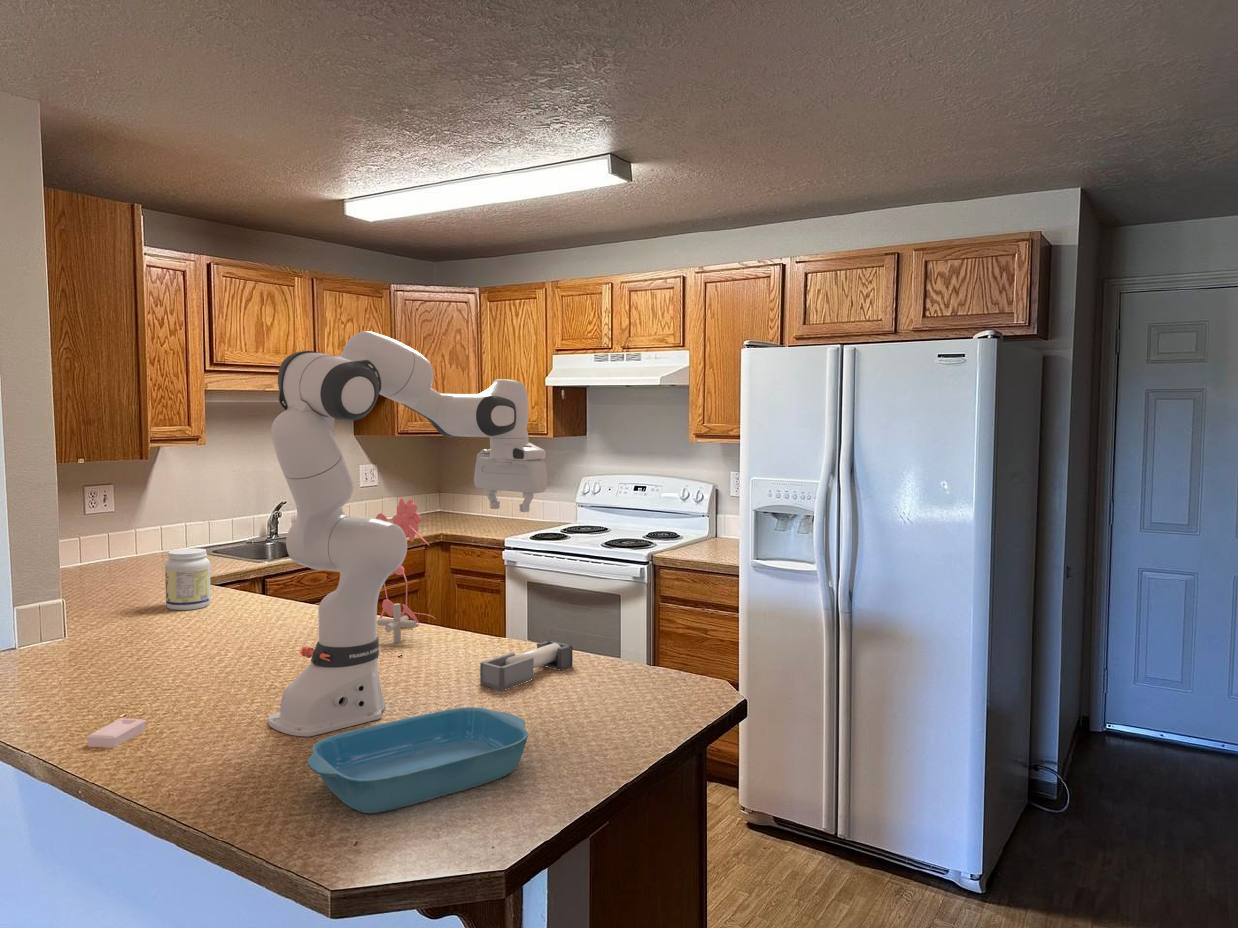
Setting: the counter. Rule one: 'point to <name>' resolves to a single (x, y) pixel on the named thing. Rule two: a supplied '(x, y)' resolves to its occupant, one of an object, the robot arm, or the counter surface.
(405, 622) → the pipe connector
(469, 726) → the casserole dish
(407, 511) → the figurine
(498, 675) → the sleeve
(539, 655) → the slip tube
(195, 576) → the supplement tub
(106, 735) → the soap bar
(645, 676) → the counter surface
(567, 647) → the socket
